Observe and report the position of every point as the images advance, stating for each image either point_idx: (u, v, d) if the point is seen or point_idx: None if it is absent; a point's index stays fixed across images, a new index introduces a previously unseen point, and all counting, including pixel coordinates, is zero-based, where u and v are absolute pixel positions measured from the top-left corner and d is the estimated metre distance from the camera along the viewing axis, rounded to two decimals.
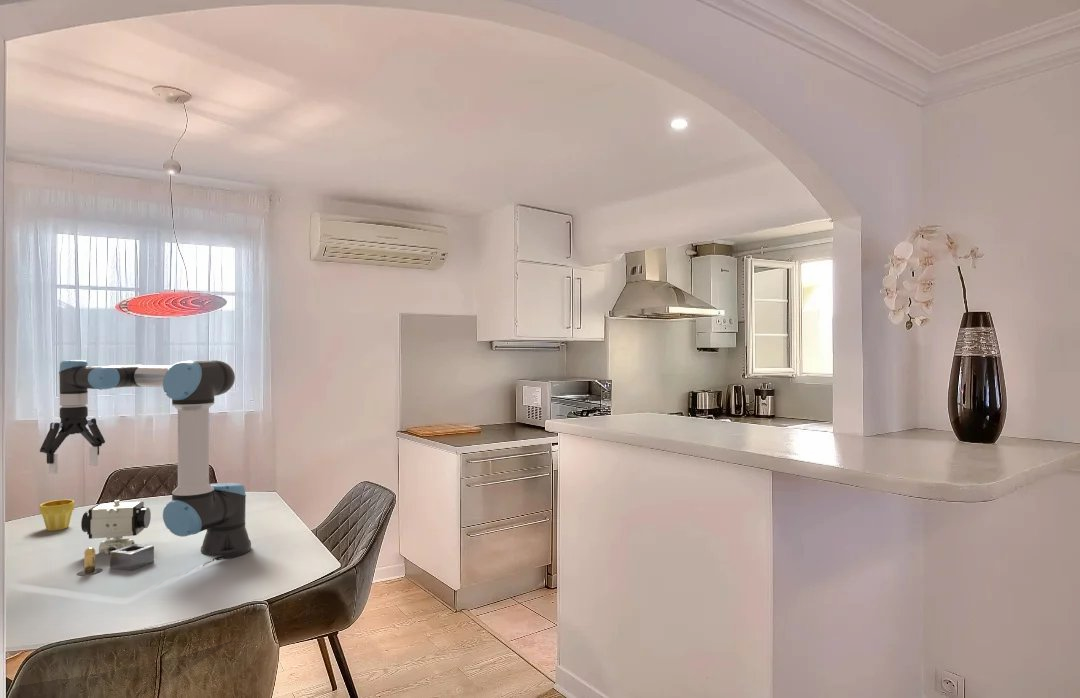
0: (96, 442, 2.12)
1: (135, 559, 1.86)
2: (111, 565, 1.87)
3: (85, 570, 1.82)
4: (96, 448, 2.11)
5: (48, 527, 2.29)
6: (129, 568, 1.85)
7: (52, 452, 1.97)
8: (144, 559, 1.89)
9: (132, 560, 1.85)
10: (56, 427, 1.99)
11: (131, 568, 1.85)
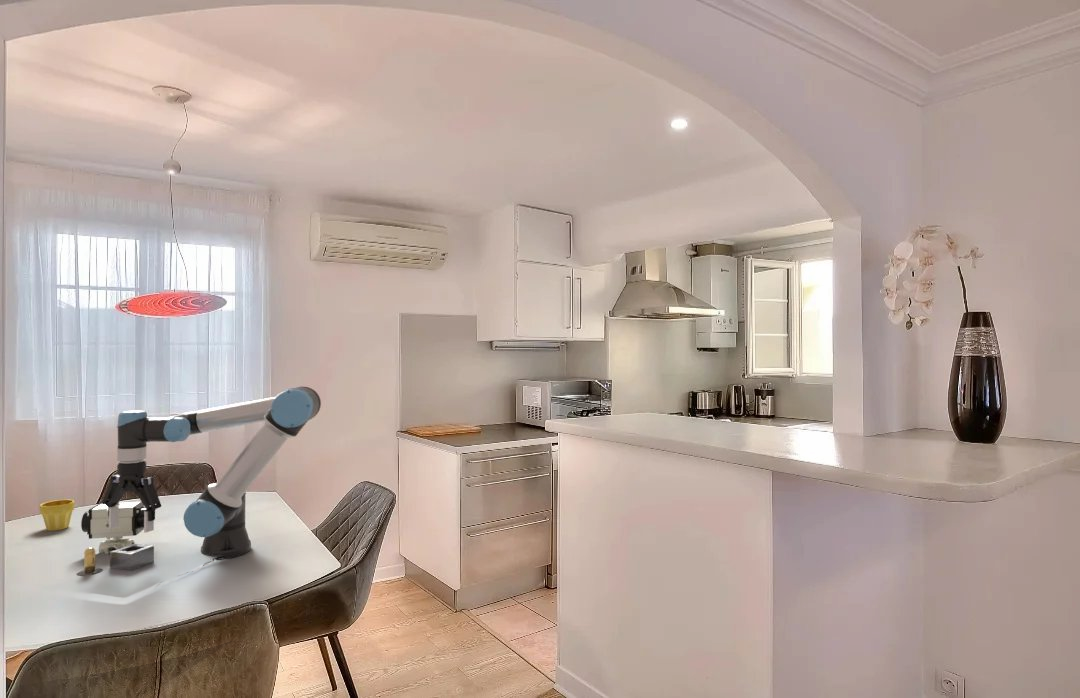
0: (146, 506, 1.87)
1: (135, 559, 1.86)
2: (111, 565, 1.87)
3: (85, 570, 1.82)
4: (145, 513, 1.86)
5: (48, 527, 2.29)
6: (129, 568, 1.85)
7: (107, 505, 1.90)
8: (144, 559, 1.89)
9: (132, 560, 1.85)
10: (111, 480, 1.90)
11: (131, 568, 1.85)
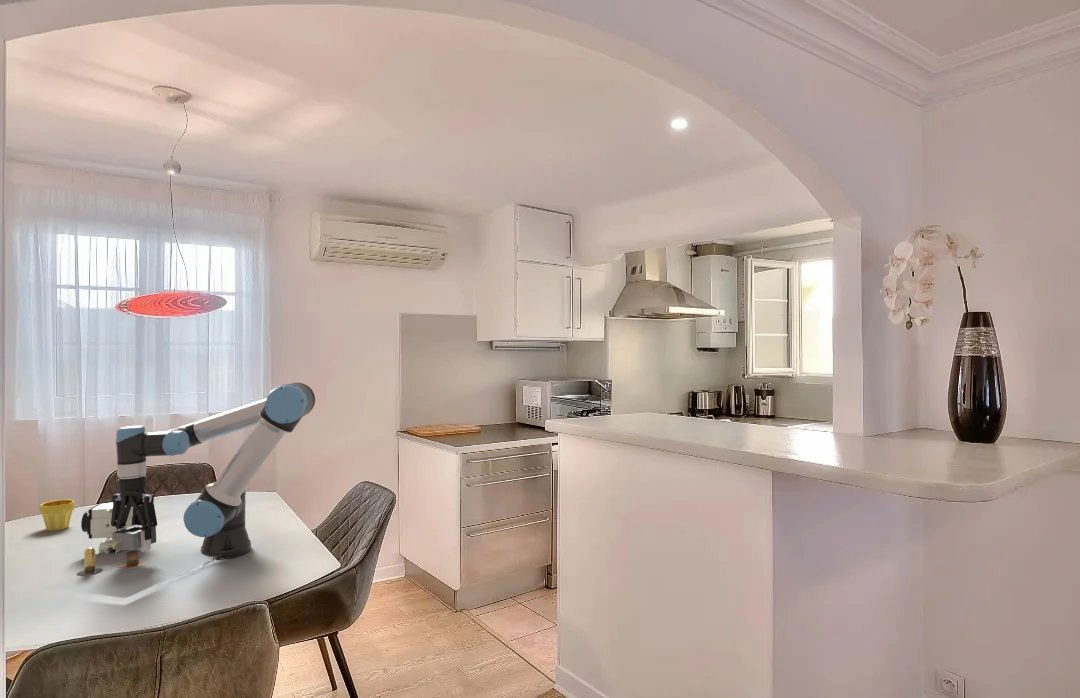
0: (143, 525, 1.87)
1: (137, 539, 1.86)
2: (113, 546, 1.87)
3: (85, 570, 1.82)
4: (141, 532, 1.87)
5: (48, 527, 2.29)
6: (131, 548, 1.85)
7: (116, 527, 1.90)
8: None
9: (134, 540, 1.85)
10: (113, 500, 1.90)
11: (133, 548, 1.85)
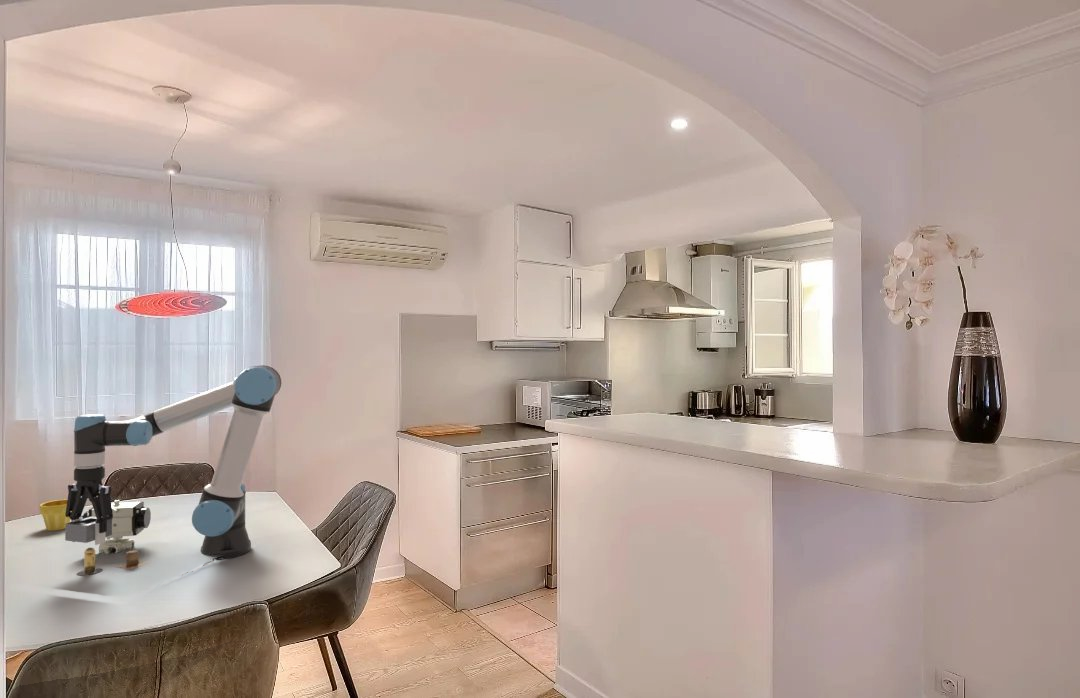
0: (97, 517, 1.81)
1: (91, 531, 1.80)
2: (66, 537, 1.81)
3: (85, 570, 1.82)
4: (96, 524, 1.81)
5: (48, 527, 2.29)
6: (84, 540, 1.79)
7: (70, 518, 1.84)
8: None
9: (88, 532, 1.79)
10: (69, 489, 1.84)
11: (86, 540, 1.79)
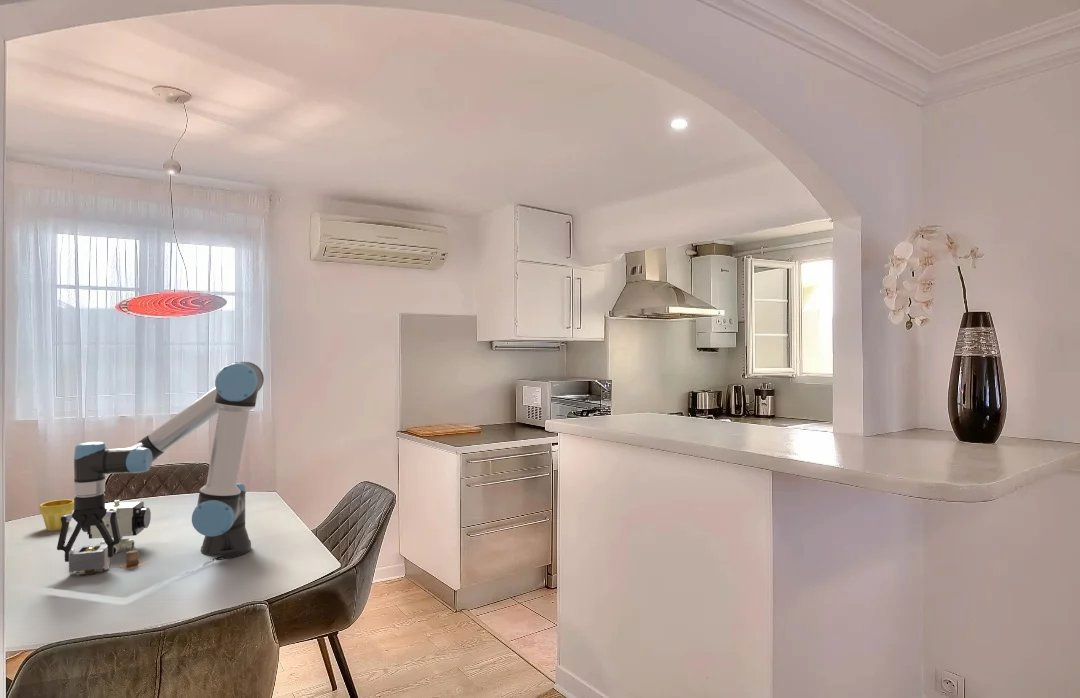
0: (107, 542, 1.84)
1: (103, 556, 1.83)
2: (71, 568, 1.79)
3: (85, 570, 1.82)
4: (106, 549, 1.84)
5: (48, 527, 2.29)
6: (99, 566, 1.81)
7: (66, 550, 1.80)
8: None
9: (102, 557, 1.82)
10: (62, 521, 1.80)
11: (102, 566, 1.82)
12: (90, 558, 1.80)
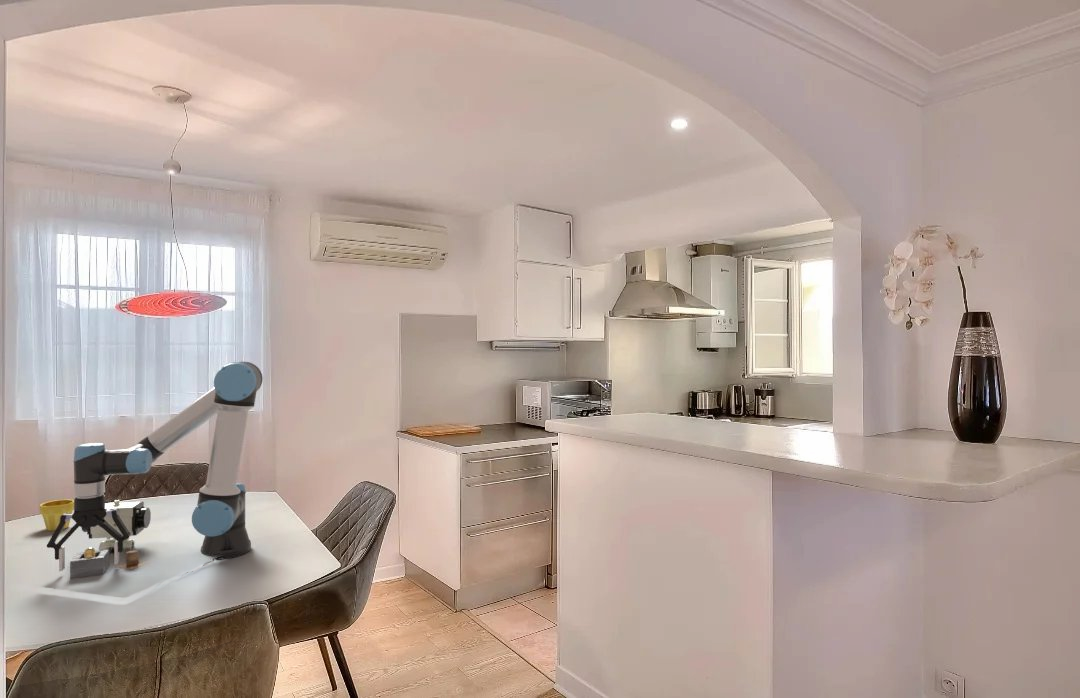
0: (116, 537, 1.85)
1: (104, 563, 1.83)
2: (72, 575, 1.79)
3: None
4: (116, 544, 1.85)
5: (48, 527, 2.29)
6: (100, 572, 1.82)
7: (55, 547, 1.79)
8: (106, 563, 1.86)
9: (103, 563, 1.82)
10: (61, 520, 1.80)
11: (103, 572, 1.82)
12: (91, 564, 1.81)
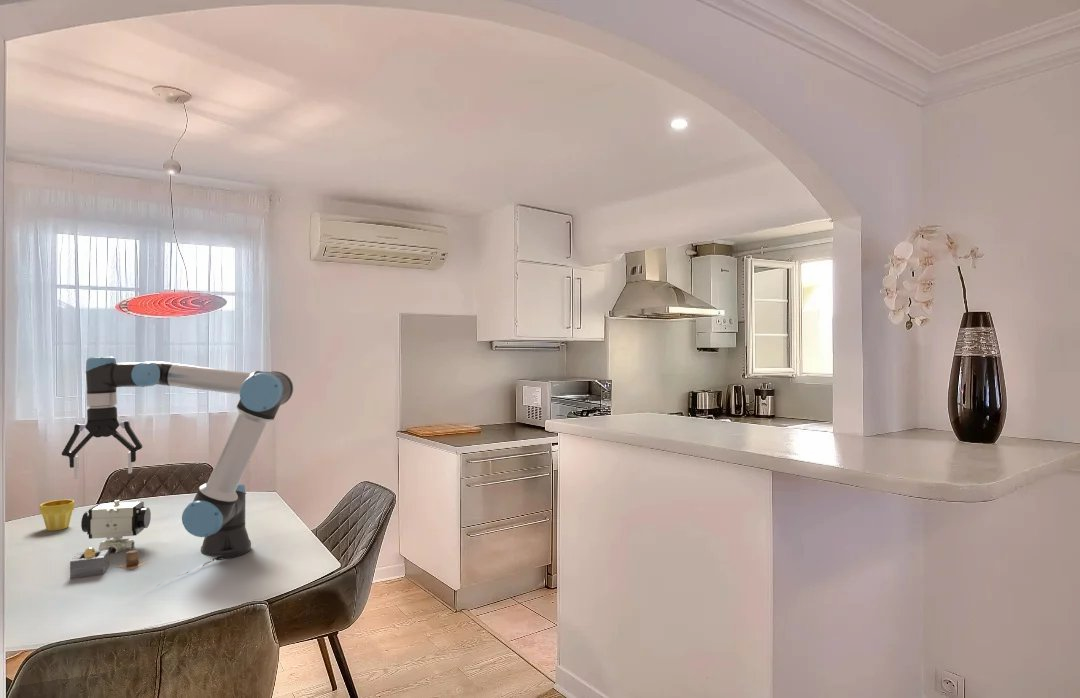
0: (129, 447, 1.91)
1: (104, 563, 1.83)
2: (72, 575, 1.79)
3: None
4: (129, 454, 1.91)
5: (48, 527, 2.29)
6: (100, 572, 1.82)
7: (70, 455, 1.84)
8: (106, 563, 1.86)
9: (103, 563, 1.82)
10: (75, 429, 1.85)
11: (103, 572, 1.82)
12: (91, 564, 1.81)
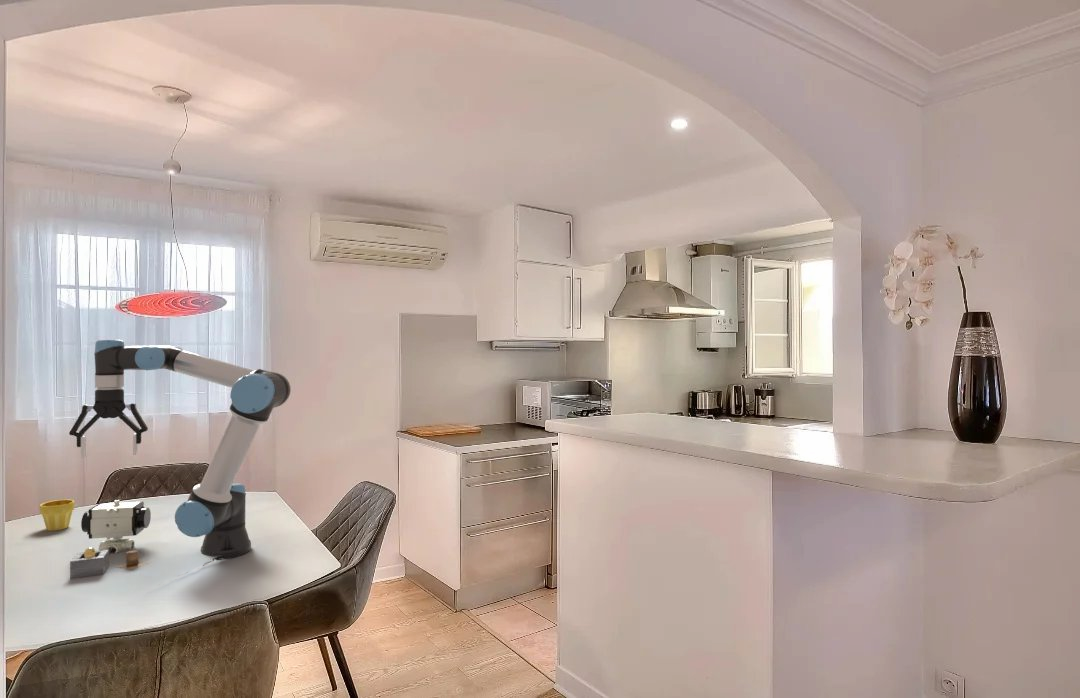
0: (135, 429, 1.95)
1: (104, 563, 1.83)
2: (72, 575, 1.79)
3: None
4: (134, 436, 1.95)
5: (48, 527, 2.29)
6: (100, 572, 1.82)
7: (77, 435, 1.88)
8: (106, 563, 1.86)
9: (103, 563, 1.82)
10: (83, 409, 1.89)
11: (103, 572, 1.82)
12: (91, 564, 1.81)
